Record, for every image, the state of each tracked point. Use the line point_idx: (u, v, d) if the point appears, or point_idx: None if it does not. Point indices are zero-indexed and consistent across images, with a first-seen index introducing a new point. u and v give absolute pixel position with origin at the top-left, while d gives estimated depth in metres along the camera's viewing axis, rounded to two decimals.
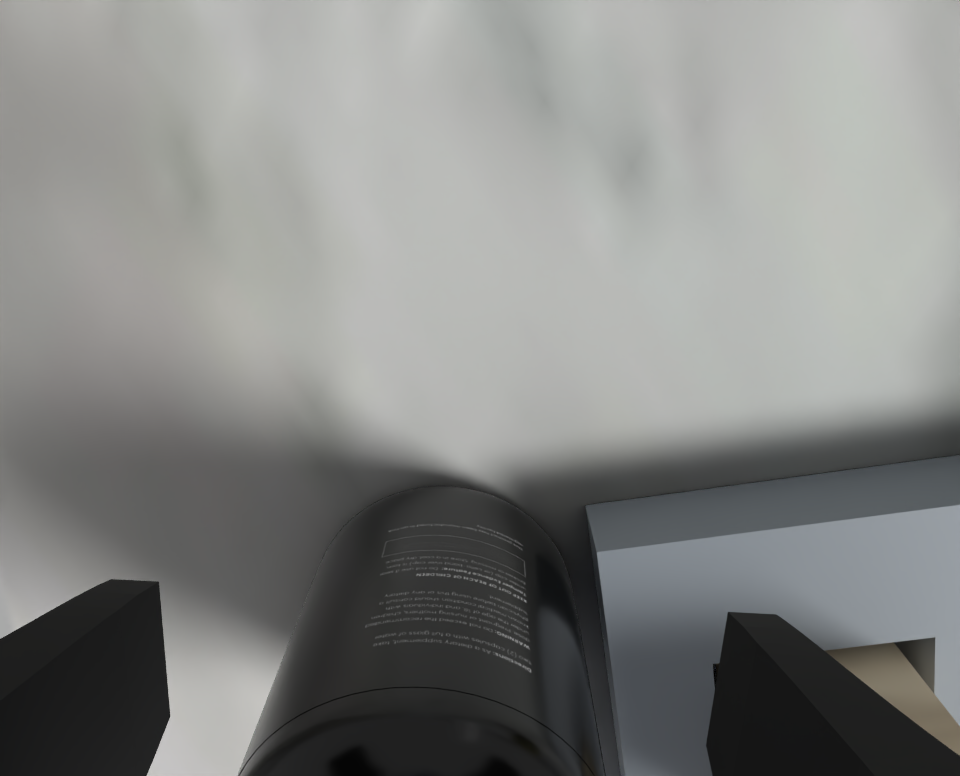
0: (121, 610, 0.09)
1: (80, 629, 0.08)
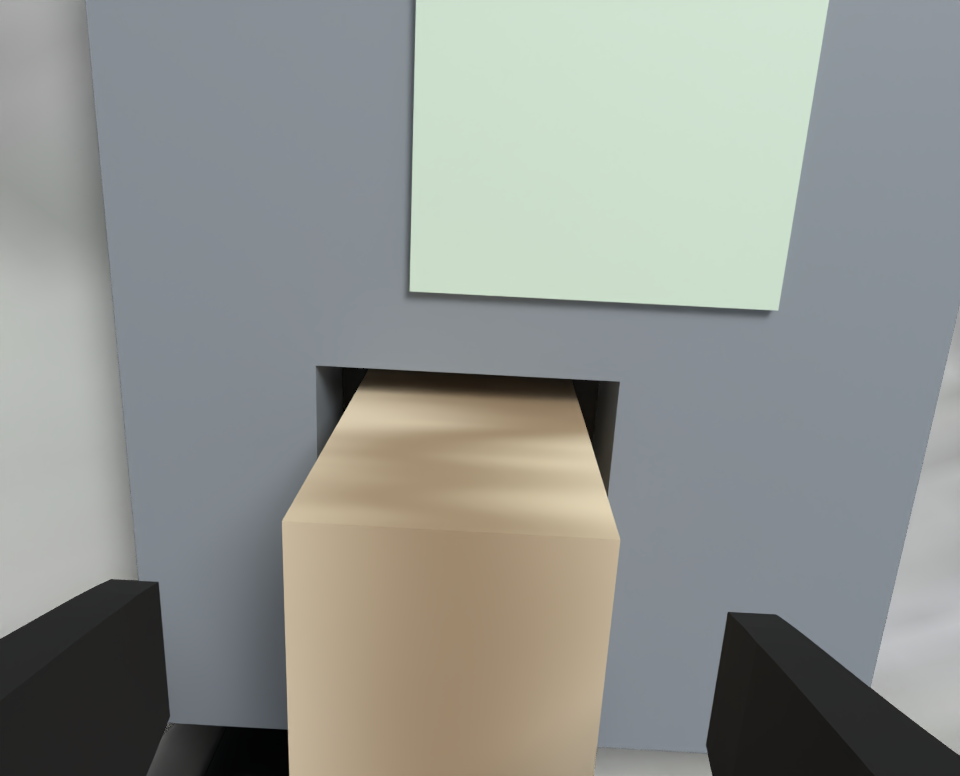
0: (121, 610, 0.09)
1: (80, 629, 0.08)
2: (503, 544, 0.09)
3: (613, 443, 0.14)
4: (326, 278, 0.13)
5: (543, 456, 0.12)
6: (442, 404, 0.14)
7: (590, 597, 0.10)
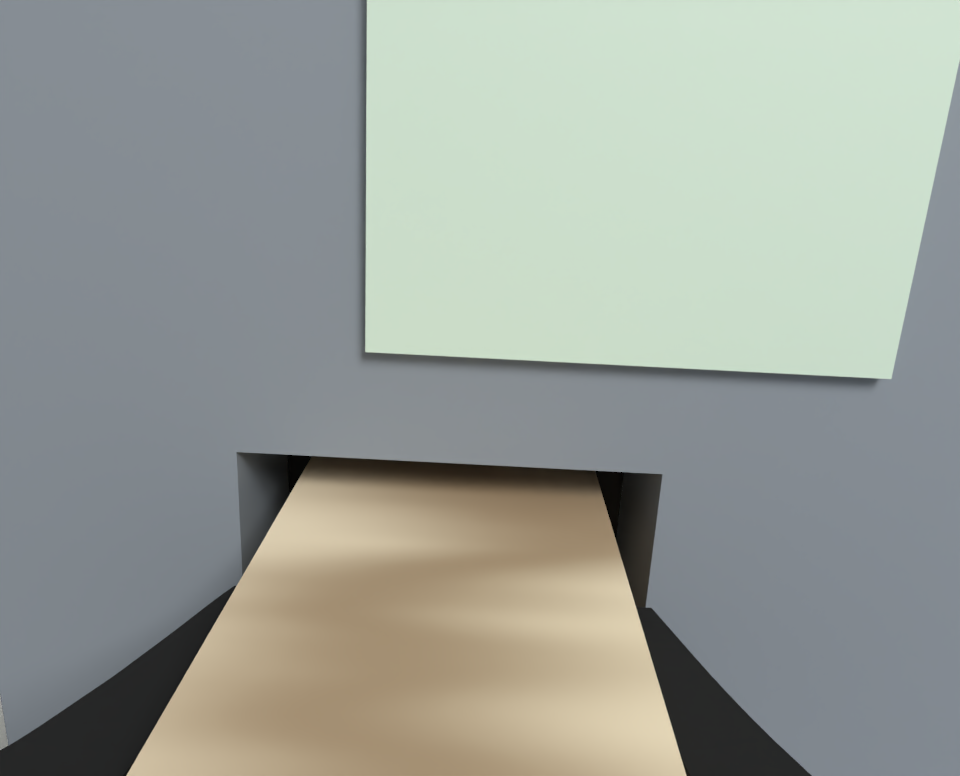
0: None
1: None
2: None
3: (651, 556, 0.10)
4: (247, 332, 0.09)
5: (559, 610, 0.08)
6: (414, 505, 0.10)
7: None
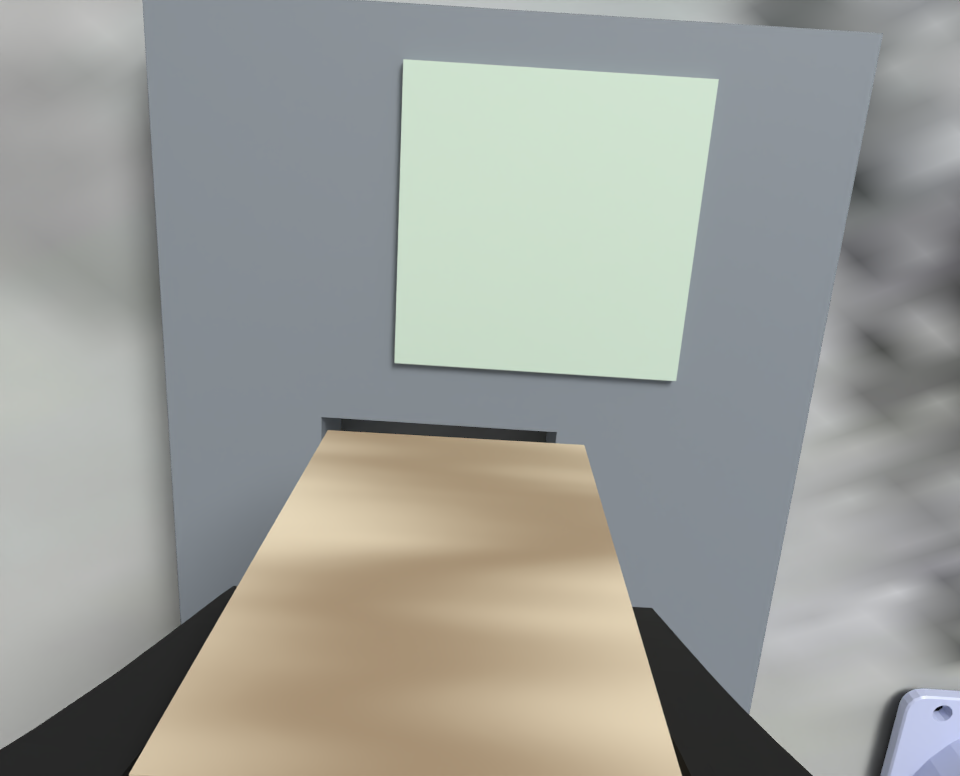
0: None
1: None
2: None
3: None
4: (330, 351, 0.17)
5: (556, 605, 0.08)
6: (414, 504, 0.10)
7: None
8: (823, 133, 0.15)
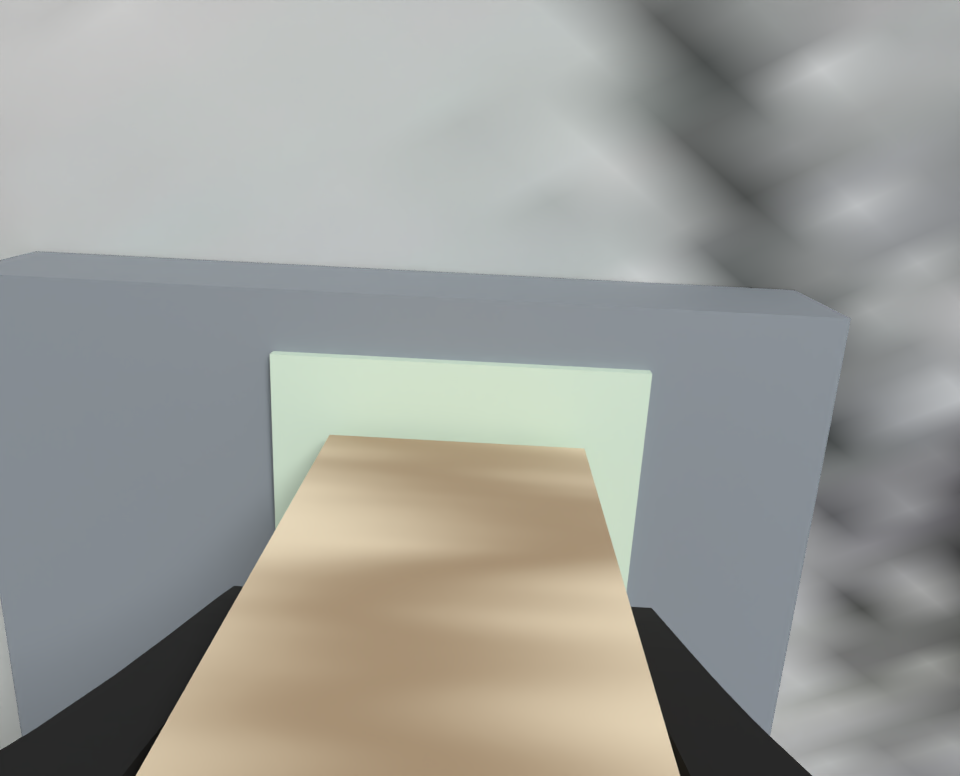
0: None
1: None
2: None
3: None
4: None
5: (555, 609, 0.08)
6: (416, 508, 0.10)
7: None
8: (781, 427, 0.13)
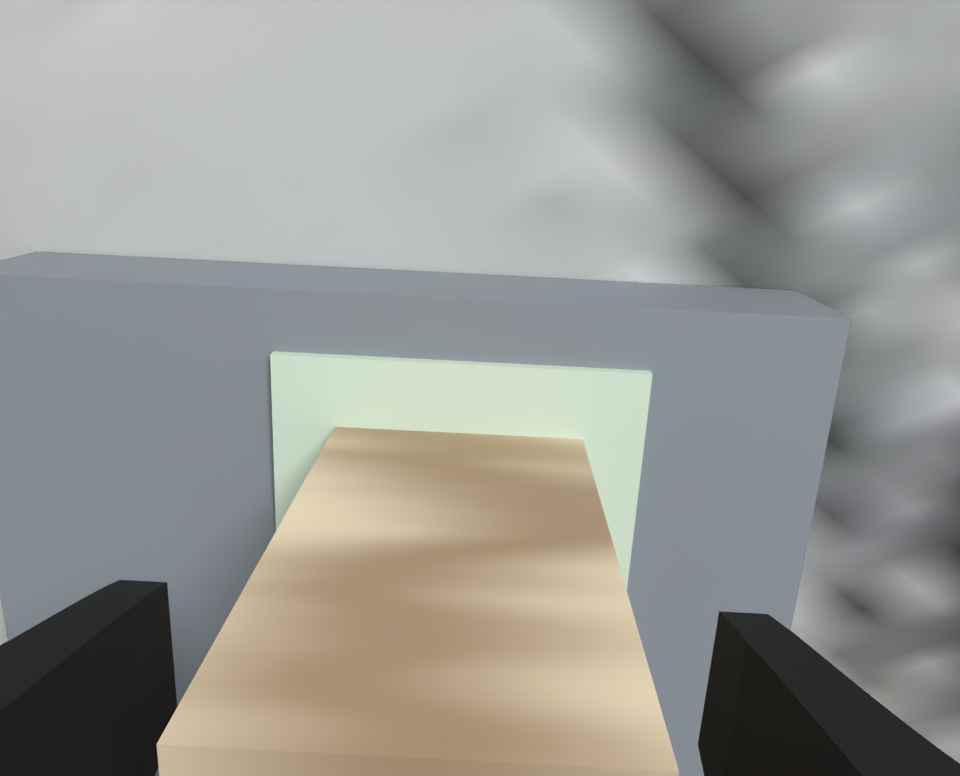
0: (131, 610, 0.09)
1: (90, 629, 0.08)
2: None
3: None
4: None
5: (554, 589, 0.08)
6: (418, 496, 0.10)
7: None
8: (781, 427, 0.13)
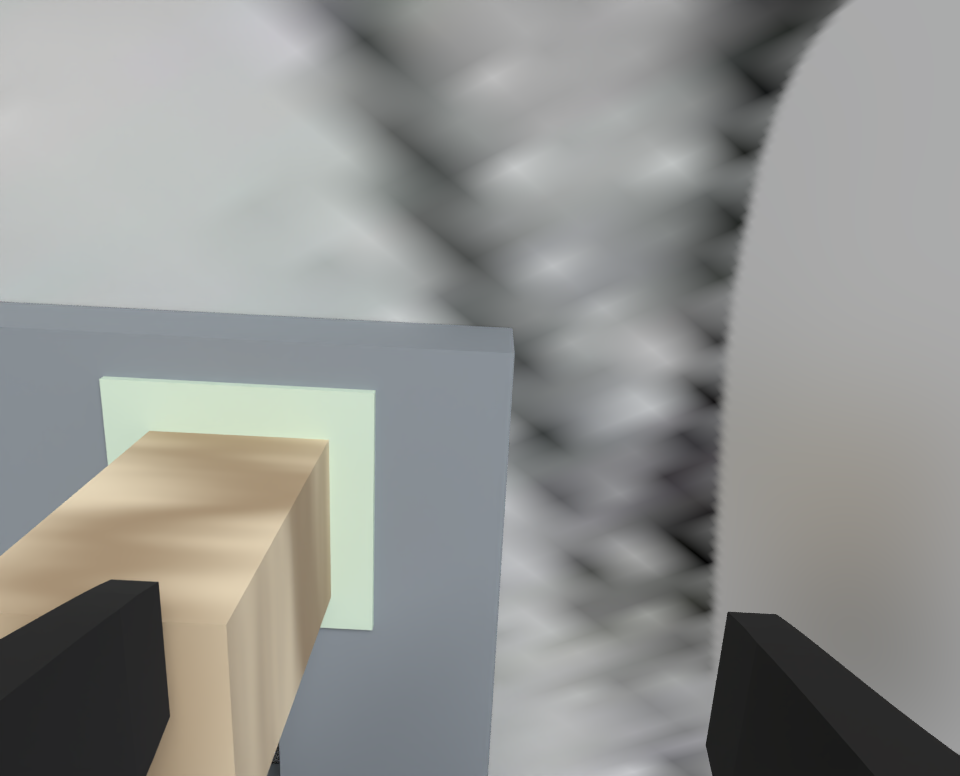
0: (121, 610, 0.09)
1: (80, 629, 0.08)
2: None
3: None
4: None
5: (227, 536, 0.13)
6: (178, 478, 0.15)
7: (208, 673, 0.11)
8: (475, 431, 0.18)
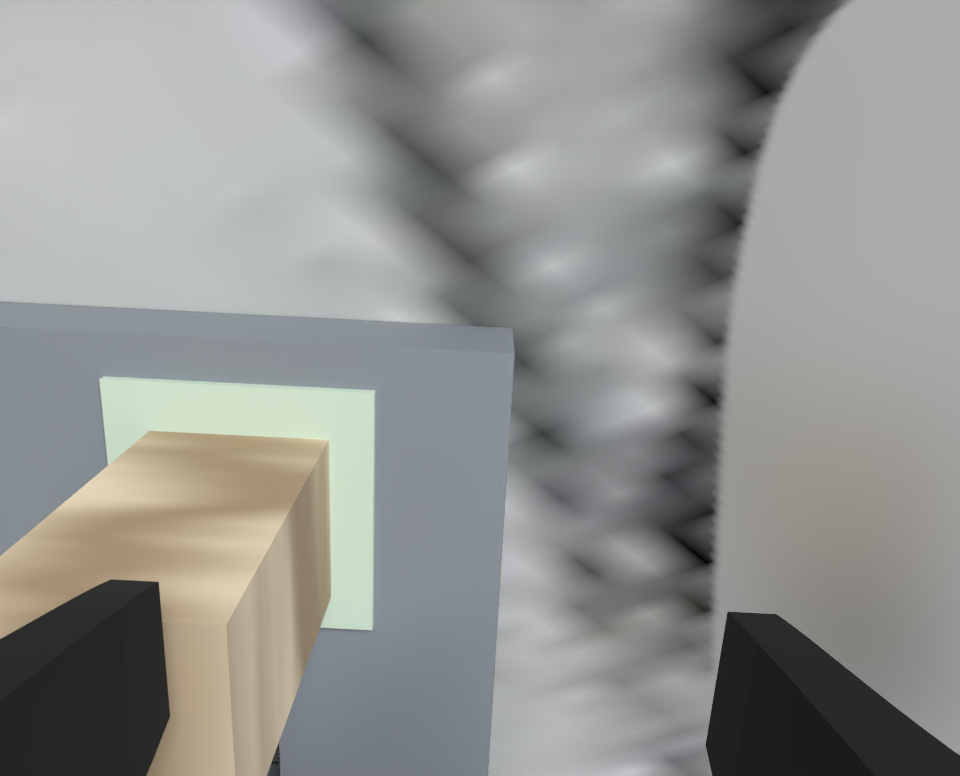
0: (121, 610, 0.09)
1: (80, 629, 0.08)
2: None
3: None
4: None
5: (227, 536, 0.13)
6: (178, 478, 0.15)
7: (208, 673, 0.11)
8: (475, 431, 0.18)
